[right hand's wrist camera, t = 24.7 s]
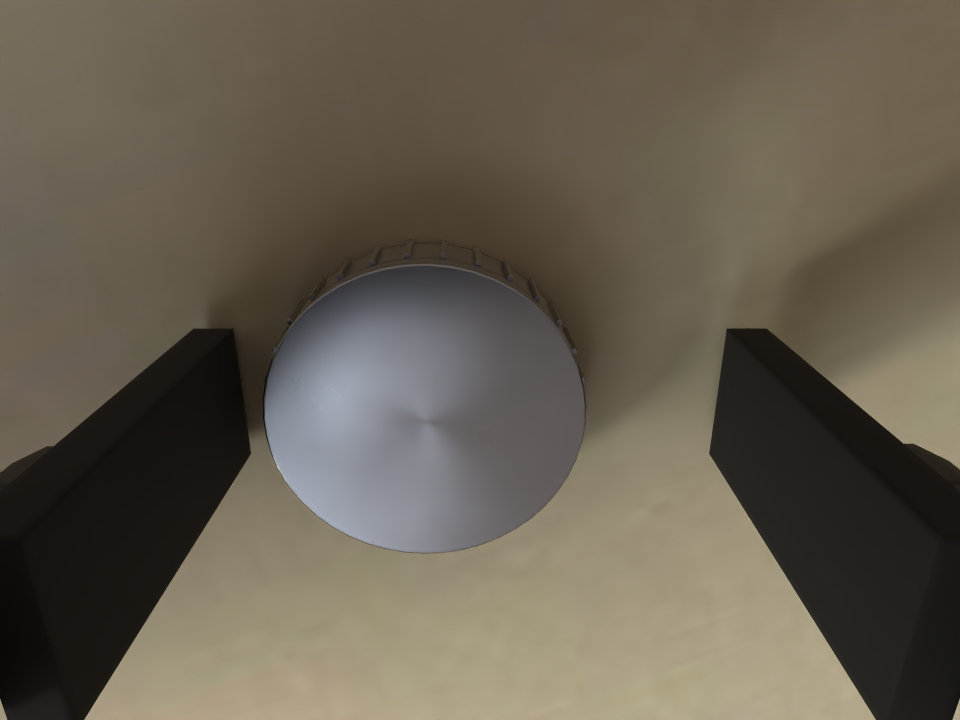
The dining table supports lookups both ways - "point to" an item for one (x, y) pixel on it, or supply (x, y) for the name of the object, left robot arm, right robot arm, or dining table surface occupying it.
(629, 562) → the dining table surface
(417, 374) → the lid
